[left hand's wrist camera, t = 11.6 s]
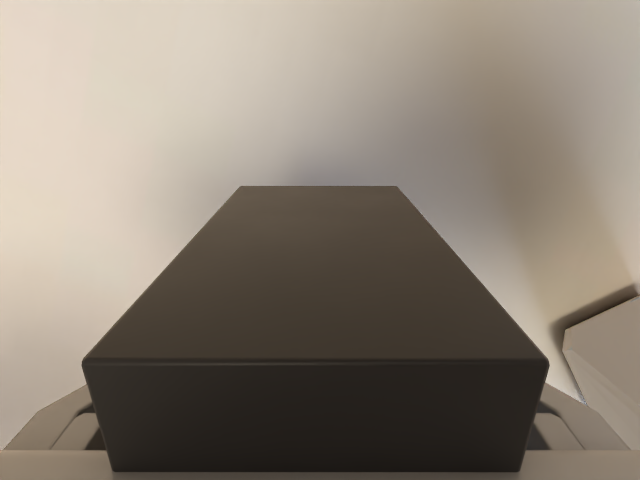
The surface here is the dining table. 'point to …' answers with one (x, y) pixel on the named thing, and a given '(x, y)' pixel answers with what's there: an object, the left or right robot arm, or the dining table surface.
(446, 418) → the bar
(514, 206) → the dining table surface
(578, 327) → the electronic device
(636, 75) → the dining table surface
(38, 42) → the dining table surface
